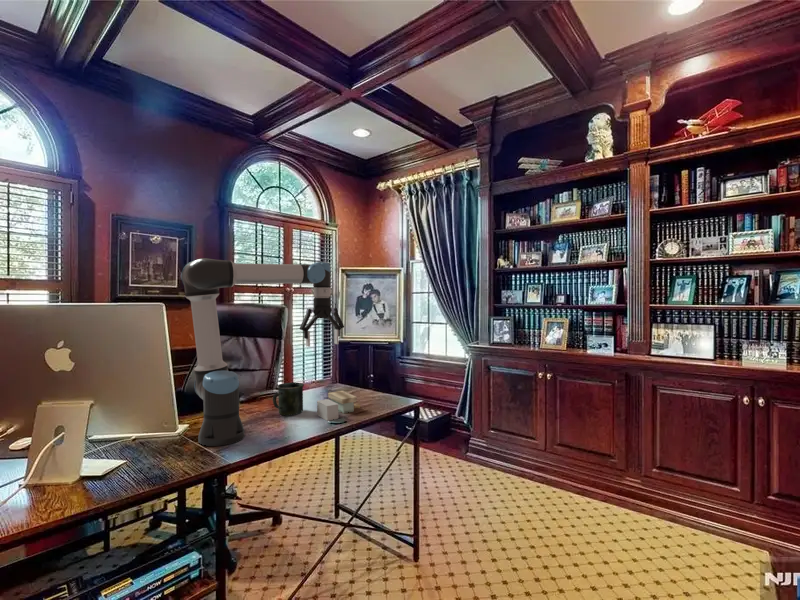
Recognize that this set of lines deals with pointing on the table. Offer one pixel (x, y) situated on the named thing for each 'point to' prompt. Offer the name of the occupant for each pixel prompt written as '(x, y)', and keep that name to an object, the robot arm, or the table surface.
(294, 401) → the mug
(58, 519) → the table surface
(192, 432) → the table surface
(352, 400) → the lid
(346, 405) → the dish
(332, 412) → the light grey rectangular block
